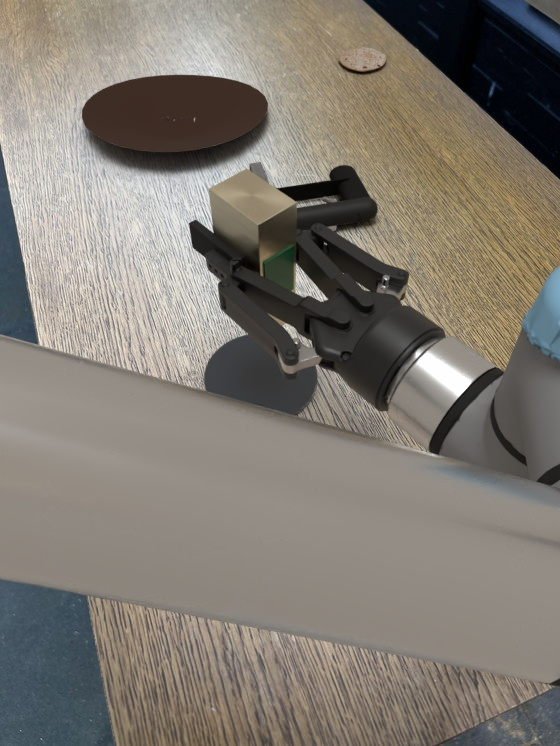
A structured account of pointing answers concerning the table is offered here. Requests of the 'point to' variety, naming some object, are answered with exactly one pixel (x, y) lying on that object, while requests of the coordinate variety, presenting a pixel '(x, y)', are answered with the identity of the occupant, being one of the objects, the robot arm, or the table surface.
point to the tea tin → (257, 226)
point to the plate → (174, 112)
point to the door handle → (330, 214)
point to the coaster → (257, 377)
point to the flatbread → (362, 59)
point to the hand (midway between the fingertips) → (215, 222)
